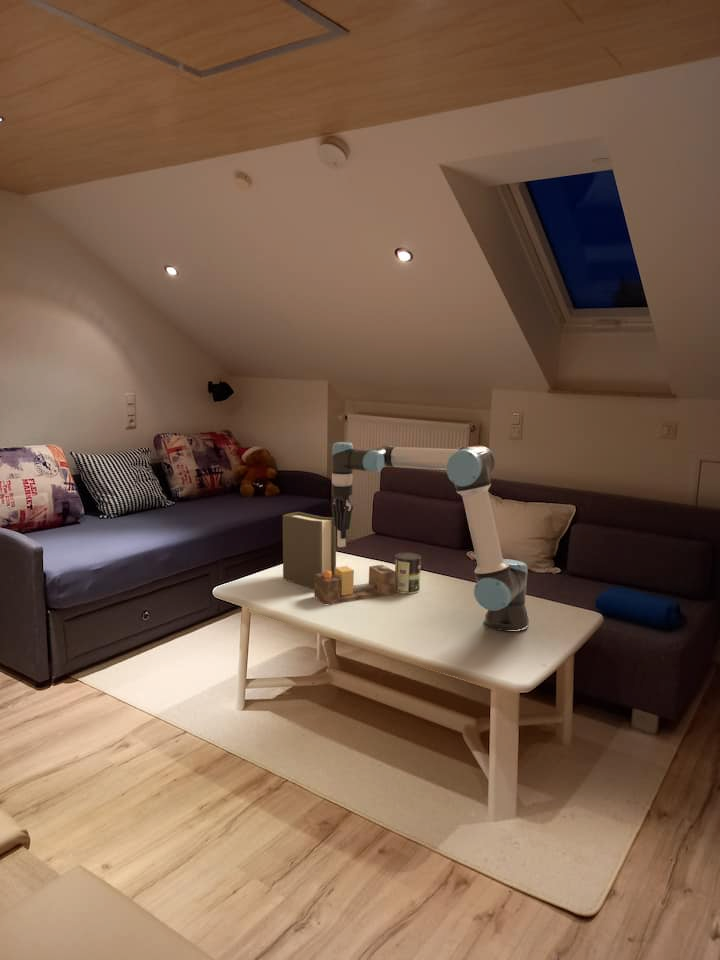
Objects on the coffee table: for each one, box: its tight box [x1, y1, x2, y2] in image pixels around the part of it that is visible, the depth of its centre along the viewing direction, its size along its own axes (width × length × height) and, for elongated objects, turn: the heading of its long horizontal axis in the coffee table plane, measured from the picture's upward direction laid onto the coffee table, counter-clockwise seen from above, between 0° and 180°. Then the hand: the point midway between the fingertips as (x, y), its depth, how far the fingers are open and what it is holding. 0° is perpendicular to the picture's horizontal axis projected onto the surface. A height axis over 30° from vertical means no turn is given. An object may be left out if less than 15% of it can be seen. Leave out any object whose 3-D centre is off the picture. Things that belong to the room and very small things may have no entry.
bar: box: [353, 582, 376, 593], centre depth 275 cm, size 17×2×2 cm, turn 119°
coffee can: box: [394, 552, 422, 595], centre depth 282 cm, size 10×10×14 cm
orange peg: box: [324, 570, 332, 579], centre depth 268 cm, size 3×3×6 cm
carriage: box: [335, 565, 355, 596], centre depth 272 cm, size 5×6×9 cm
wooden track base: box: [313, 564, 396, 605], centre depth 275 cm, size 30×10×10 cm, turn 119°
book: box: [282, 511, 337, 589], centre depth 287 cm, size 22×9×28 cm, turn 50°
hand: (341, 546), depth 265 cm, fingers closed
